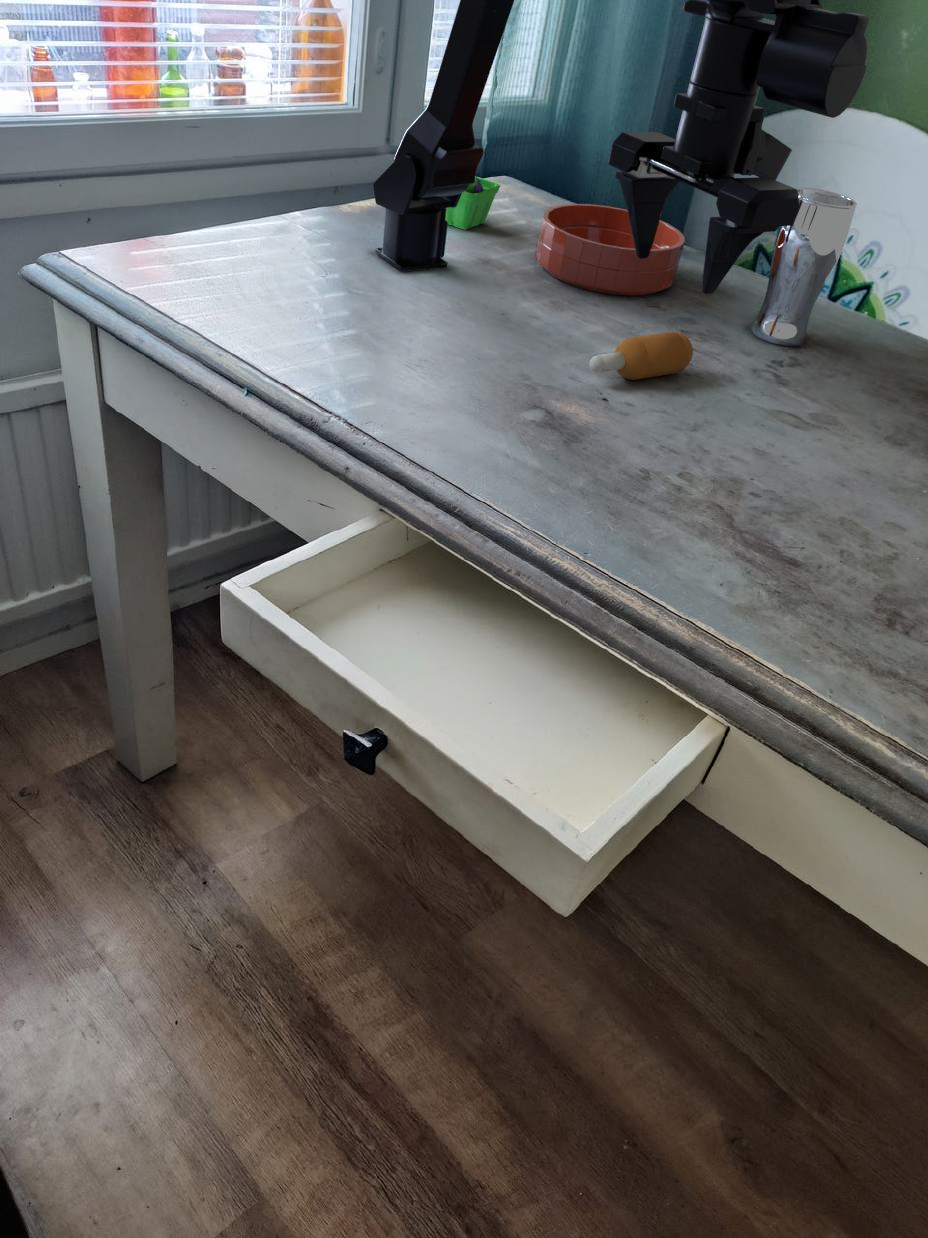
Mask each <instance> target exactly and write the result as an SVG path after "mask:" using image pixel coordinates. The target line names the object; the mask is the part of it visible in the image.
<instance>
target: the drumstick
mask: <svg viewBox="0 0 928 1238" xmlns="http://www.w3.org/2000/svg"><path fill="white" fill-rule="evenodd" d="M693 355H694V347H693V345H692V342H691V340H690V339H689V338H688V337H687V336H686V334H683V333H681V332H677V331H668V332H661V333H653V334H646V335H639V336H638V335H637V336H632V337H627V338H626V339H624V340H622V341H621V342H619V344H618V345H617V346H616V348H615V350H614V352H610V353H601V354H596V355H594V356H593V357H591V359H590V361H589V368H590V370H591V371H592V372H594V373H604V372H605V373H606V372H611V371H616V372H617V373H618V375H620V376H621V377H623V378H624V379H627V380H634V381H635V380H641V379H642V380H643V379H648V378H654V377H660V376H667V375H672V374H677V373H680V372H682V371H684V370H685V369H686V368H687V367H688V366H689V365H690V363H691V361H692V359H693Z"/></svg>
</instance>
